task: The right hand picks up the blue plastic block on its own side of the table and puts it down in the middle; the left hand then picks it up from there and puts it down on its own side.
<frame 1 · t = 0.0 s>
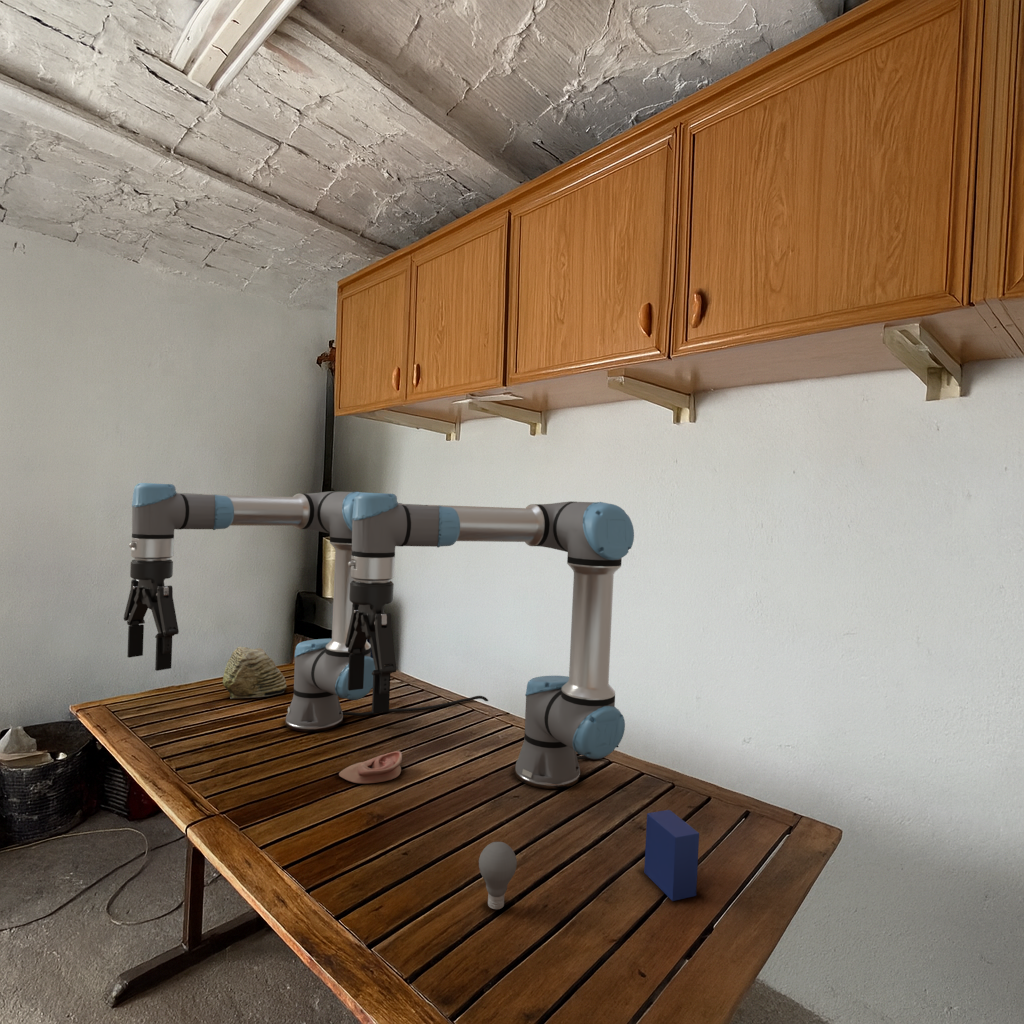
left hand: (148, 662, 129), 28 cm above the table, tool pointing down, fingers open, 13 cm apart
right hand: (367, 700, 112), 28 cm above the table, tool pointing down, fingers open, 13 cm apart
light bulb: (495, 908, 100), on the table
fossil: (254, 694, 198), on the table
block: (669, 884, 108), on the table
anatomical model: (370, 774, 146), on the table
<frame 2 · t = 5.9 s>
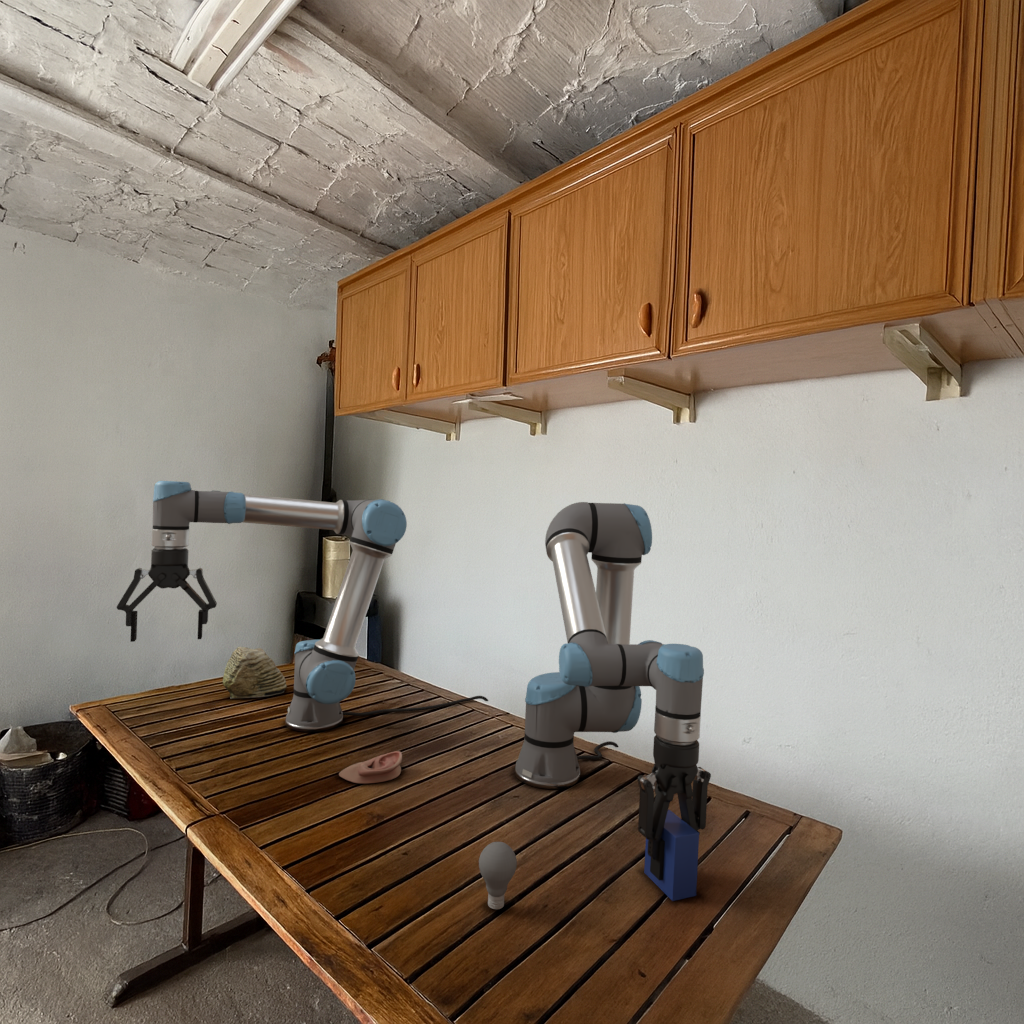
left hand: (167, 639, 147), 29 cm above the table, tool pointing down, fingers open, 13 cm apart
right hand: (669, 872, 108), 2 cm above the table, tool pointing down, fingers closed on block, 5 cm apart
block: (669, 884, 108), on the table, touching right hand
everything else where it was.
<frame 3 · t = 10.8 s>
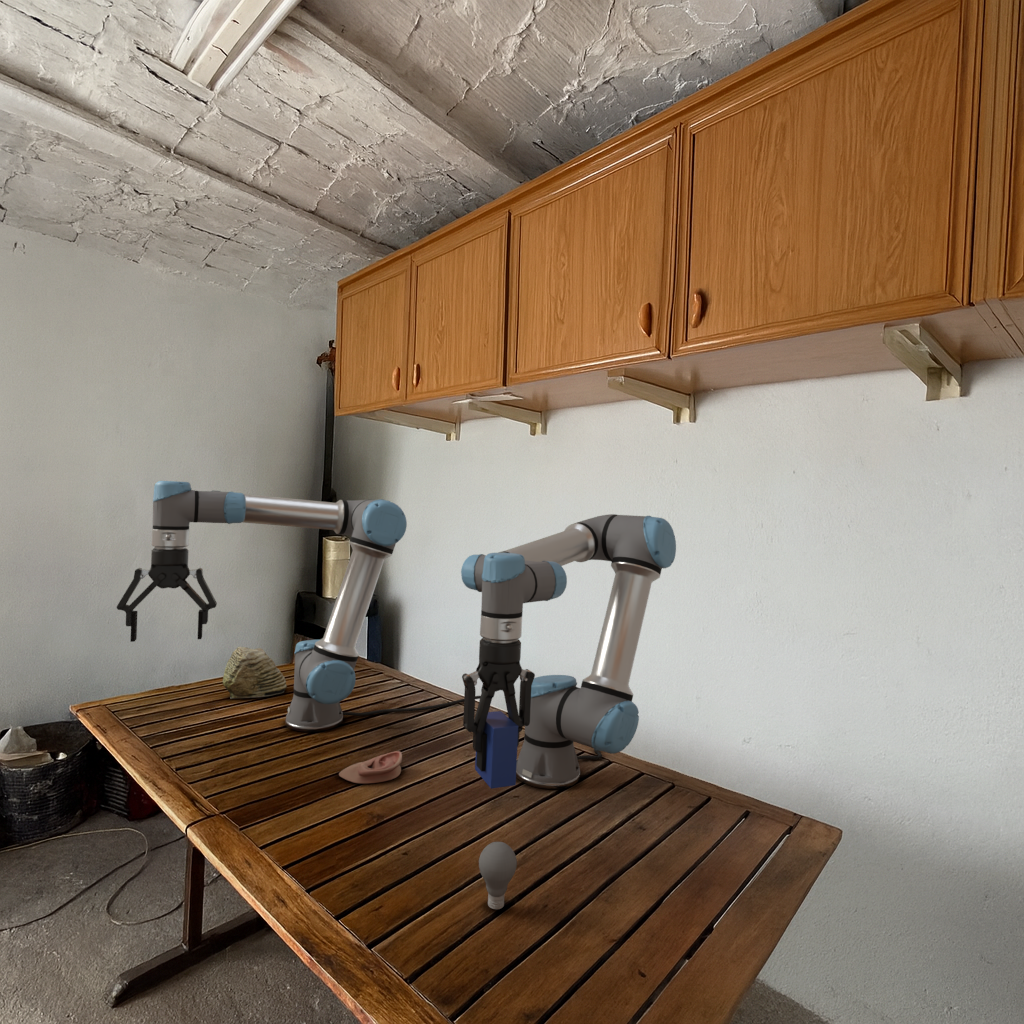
left hand: (167, 639, 147), 29 cm above the table, tool pointing down, fingers open, 13 cm apart
right hand: (494, 766, 115), 16 cm above the table, tool pointing down, fingers closed on block, 5 cm apart
block: (494, 777, 115), point 14 cm above the table, touching right hand
everything else where it was.
when the right hand's fingers open (3 cm above the table, at t = 15.7 s): block drops 1 cm, on the table.
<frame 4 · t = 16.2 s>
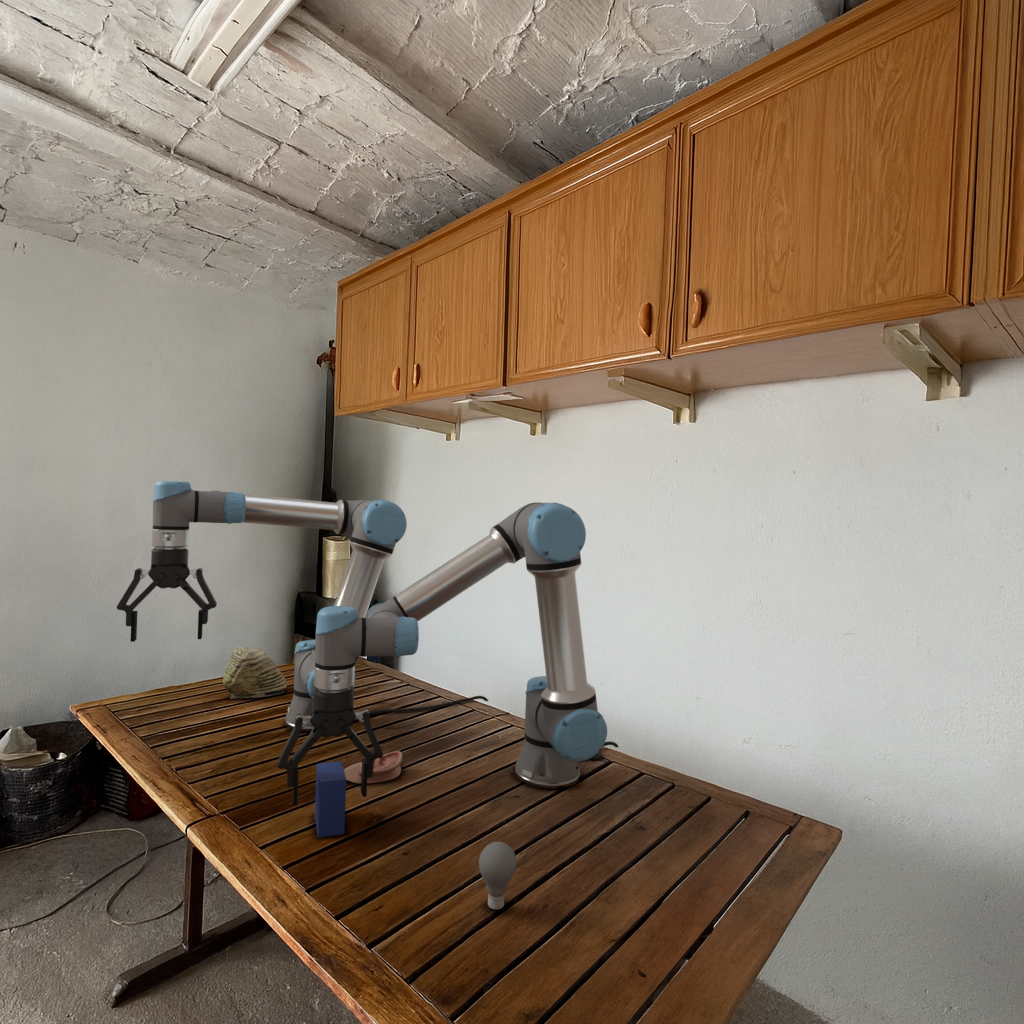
left hand: (167, 639, 147), 29 cm above the table, tool pointing down, fingers open, 13 cm apart
right hand: (329, 798, 123), 5 cm above the table, tool pointing down, fingers open, 12 cm apart
block: (329, 825, 123), on the table
everything else where it was.
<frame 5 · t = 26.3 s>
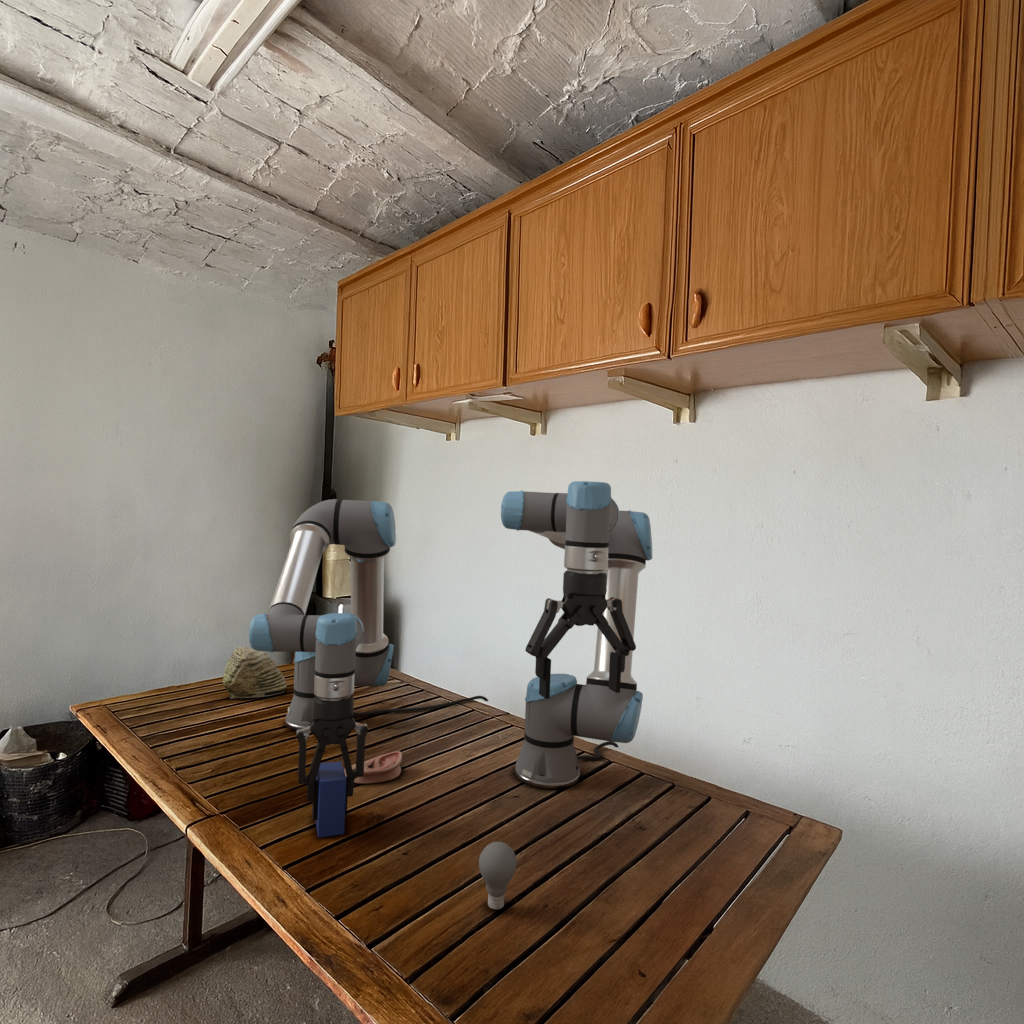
left hand: (329, 814, 123), 2 cm above the table, tool pointing down, fingers closed on block, 5 cm apart
right hand: (579, 693, 110), 31 cm above the table, tool pointing down, fingers open, 13 cm apart
block: (329, 825, 123), on the table, touching left hand
everything else where it was.
when the left hand's fingers open (4 cm above the table, at t = 36.6 s): block drops 2 cm, on the table.
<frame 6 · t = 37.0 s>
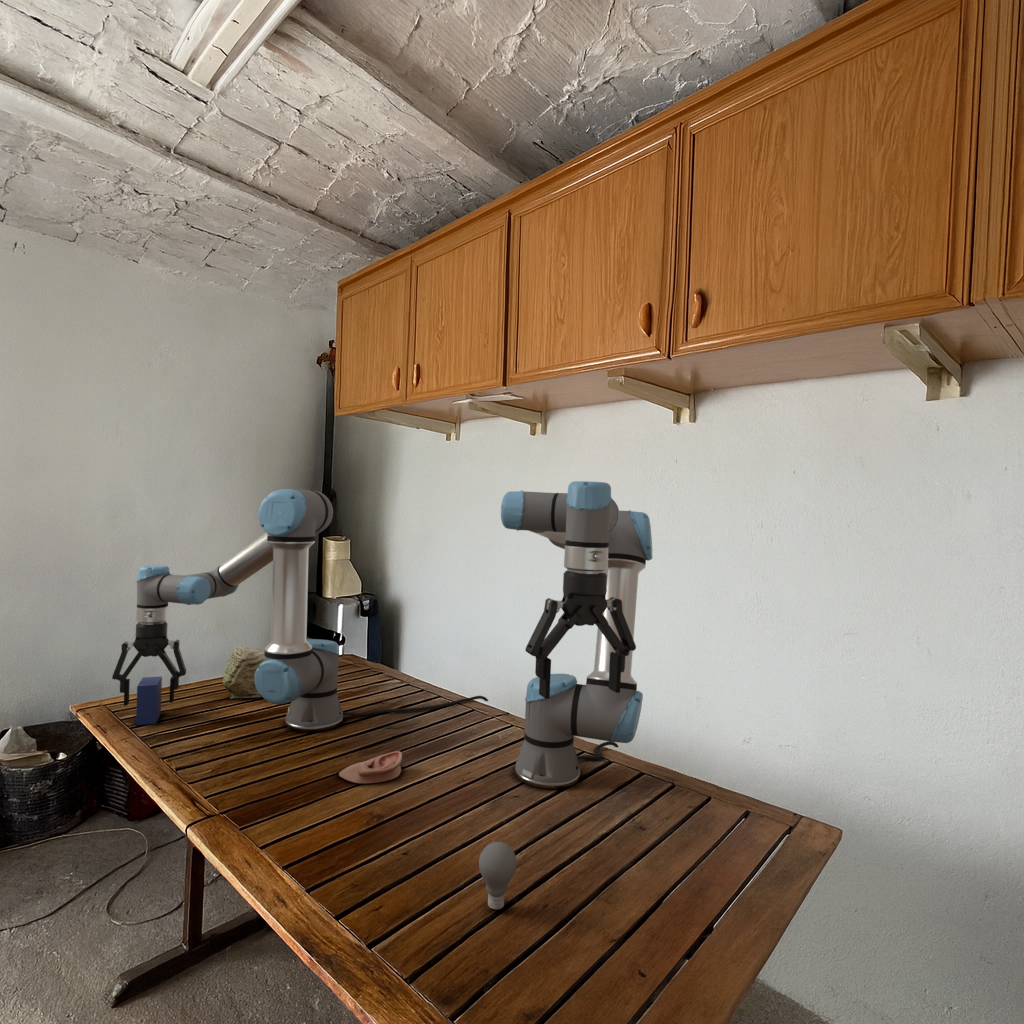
left hand: (149, 702, 174), 5 cm above the table, tool pointing down, fingers open, 10 cm apart
right hand: (579, 693, 110), 31 cm above the table, tool pointing down, fingers open, 13 cm apart
block: (148, 719, 174), on the table
everything else where it was.
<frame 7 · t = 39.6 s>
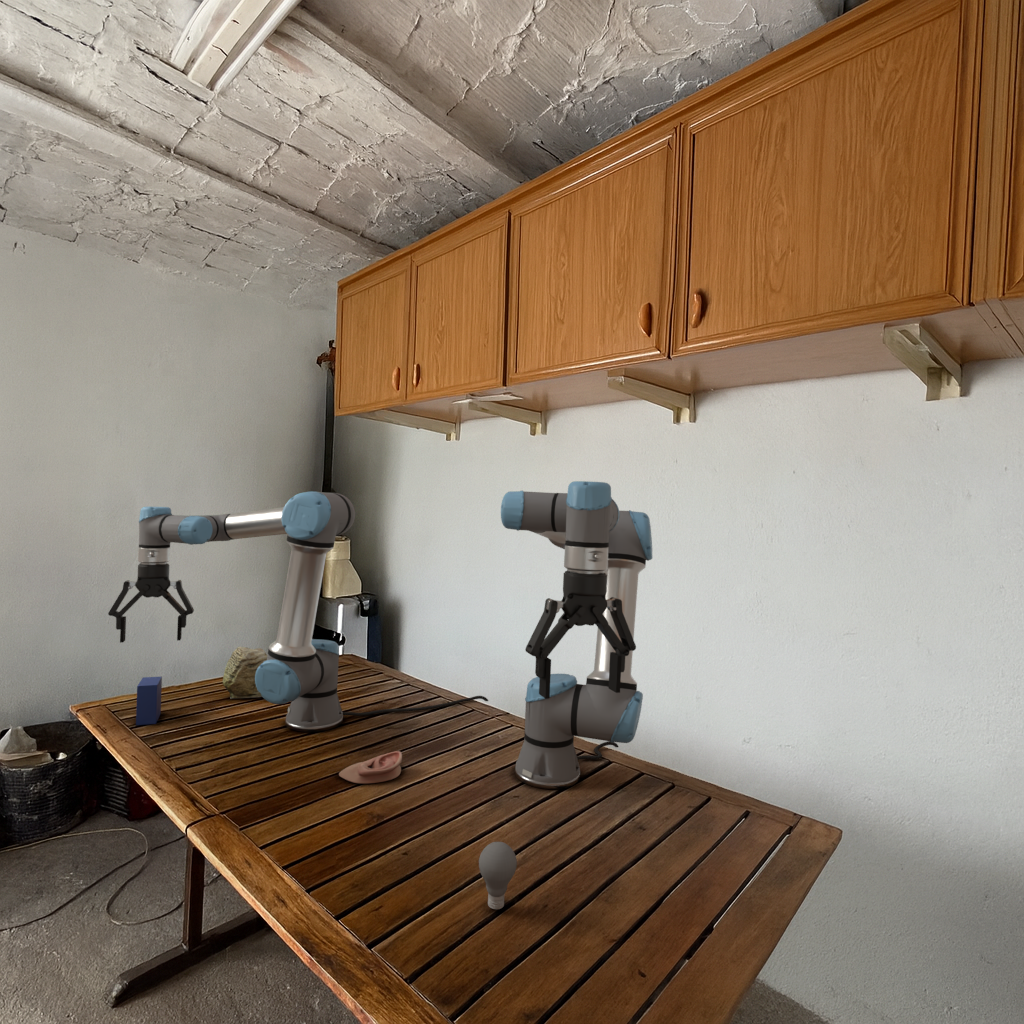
left hand: (151, 640, 173), 22 cm above the table, tool pointing down, fingers open, 13 cm apart
right hand: (579, 693, 110), 31 cm above the table, tool pointing down, fingers open, 13 cm apart
nothing on the table moved.
at the end: block inside the target area (0.2 cm from its centre), on the table; block tilted 0°; the two hands never held the block at the same time; the left hand is holding nothing; the right hand is holding nothing; block at rest at the end (0.0 cm/s) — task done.
